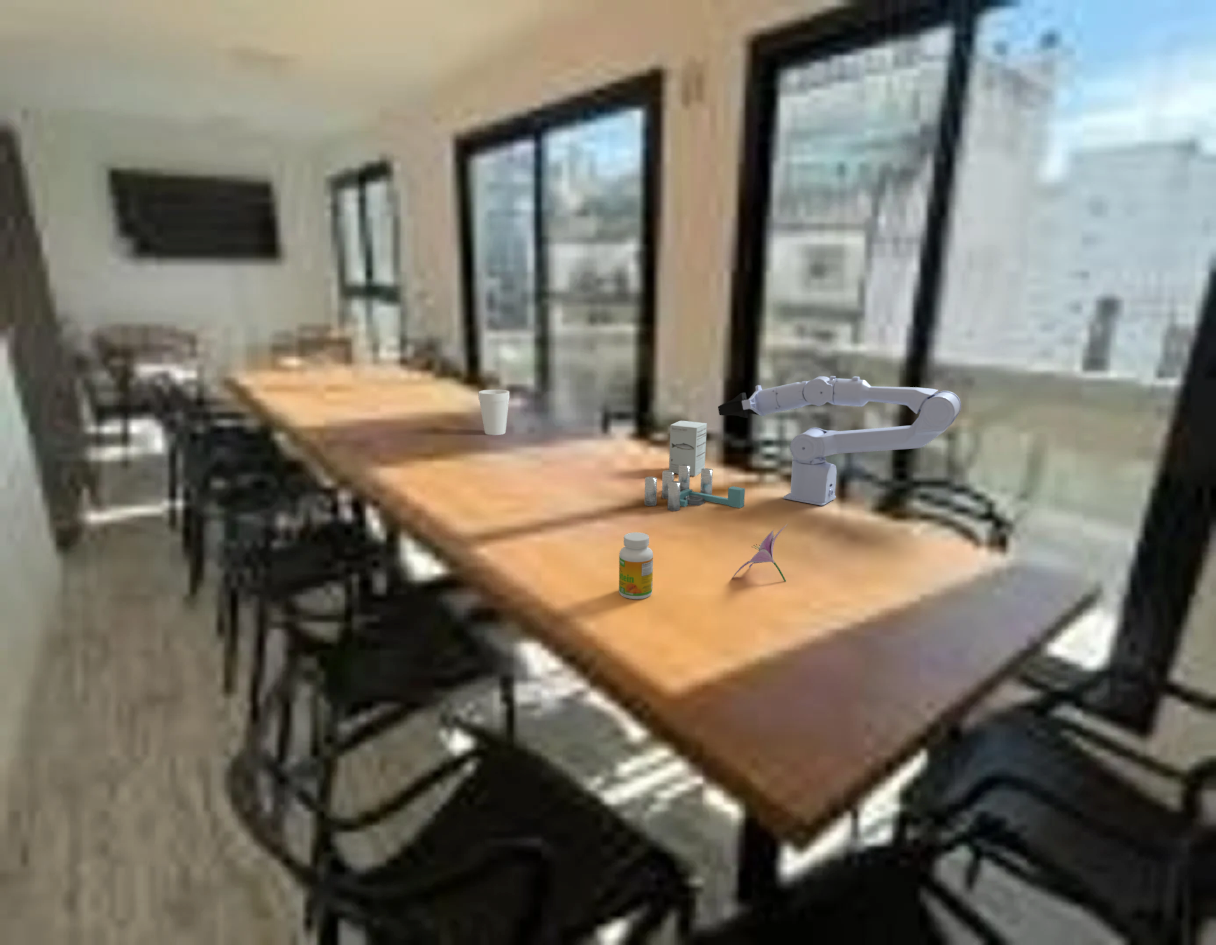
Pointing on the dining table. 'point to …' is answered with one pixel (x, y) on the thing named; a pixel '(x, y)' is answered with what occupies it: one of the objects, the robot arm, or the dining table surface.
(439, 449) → the dining table surface
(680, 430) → the supplement box
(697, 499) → the grey flat hexagonal block
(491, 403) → the foam cup
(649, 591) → the supplement bottle
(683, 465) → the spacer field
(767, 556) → the lily
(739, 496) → the hook tool
